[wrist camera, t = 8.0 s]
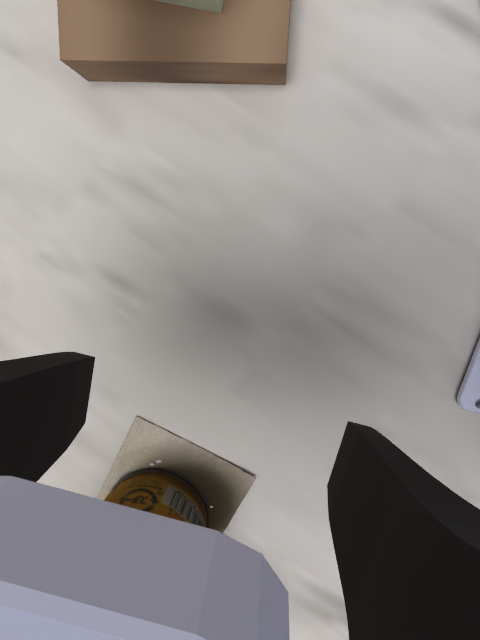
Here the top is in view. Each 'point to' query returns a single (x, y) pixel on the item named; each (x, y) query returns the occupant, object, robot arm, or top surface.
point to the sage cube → (198, 4)
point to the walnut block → (175, 41)
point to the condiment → (174, 479)
